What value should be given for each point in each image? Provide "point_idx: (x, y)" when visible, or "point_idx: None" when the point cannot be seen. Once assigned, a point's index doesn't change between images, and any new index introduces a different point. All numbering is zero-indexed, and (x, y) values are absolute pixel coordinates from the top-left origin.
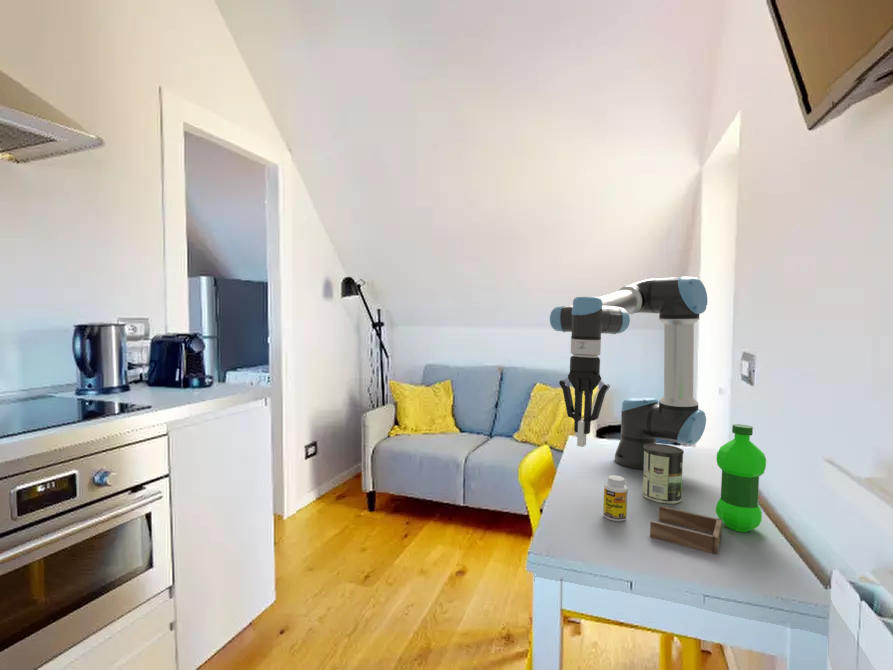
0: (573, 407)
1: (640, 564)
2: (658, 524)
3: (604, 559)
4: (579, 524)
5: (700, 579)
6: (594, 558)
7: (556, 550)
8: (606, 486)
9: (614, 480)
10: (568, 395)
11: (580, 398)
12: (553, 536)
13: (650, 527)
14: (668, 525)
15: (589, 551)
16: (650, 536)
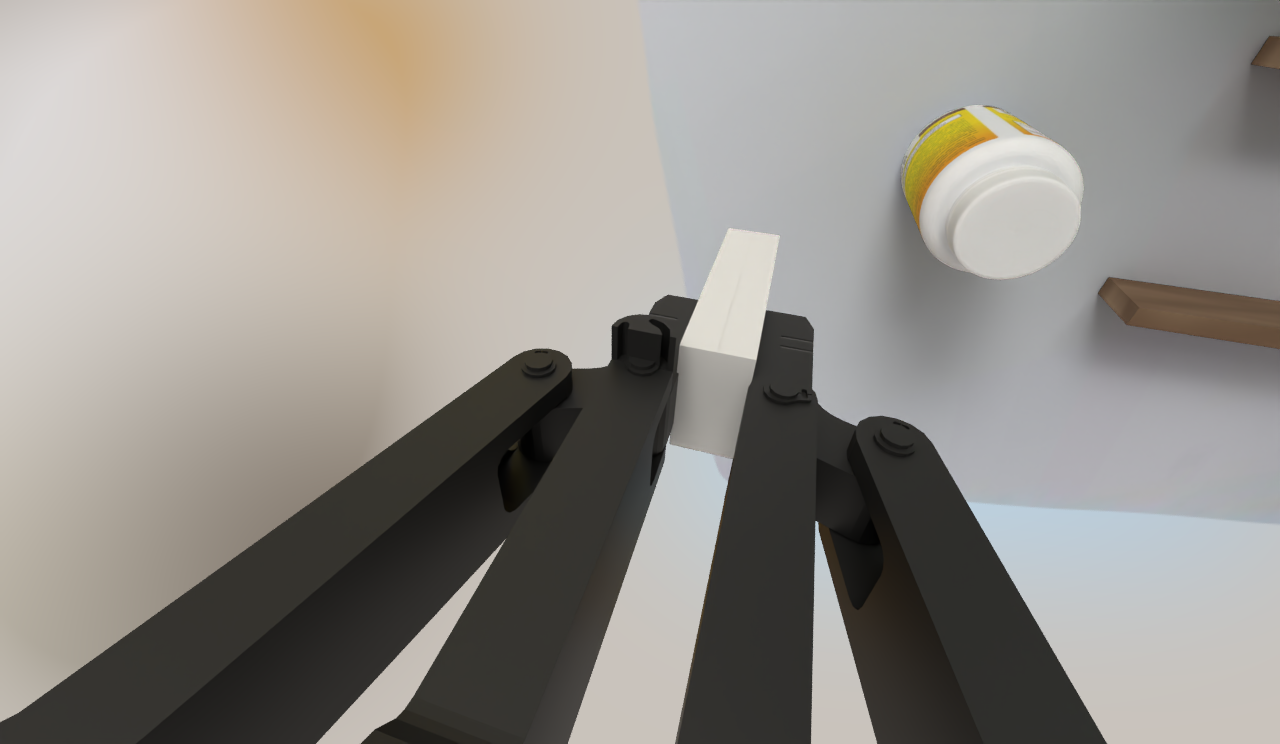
0: (505, 439)
1: (995, 471)
2: (1164, 329)
3: None
4: (802, 301)
5: (1178, 499)
6: None
7: None
8: (931, 249)
9: (991, 277)
10: (350, 697)
11: (567, 710)
12: None
13: (1115, 311)
14: (1220, 331)
15: None
16: (1100, 294)
